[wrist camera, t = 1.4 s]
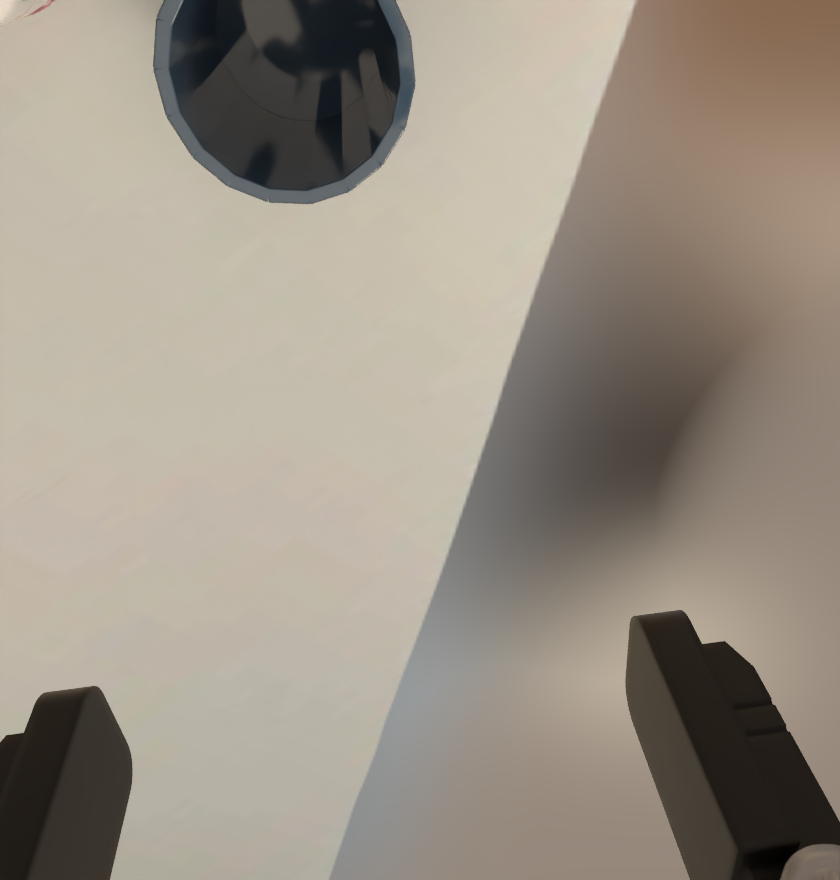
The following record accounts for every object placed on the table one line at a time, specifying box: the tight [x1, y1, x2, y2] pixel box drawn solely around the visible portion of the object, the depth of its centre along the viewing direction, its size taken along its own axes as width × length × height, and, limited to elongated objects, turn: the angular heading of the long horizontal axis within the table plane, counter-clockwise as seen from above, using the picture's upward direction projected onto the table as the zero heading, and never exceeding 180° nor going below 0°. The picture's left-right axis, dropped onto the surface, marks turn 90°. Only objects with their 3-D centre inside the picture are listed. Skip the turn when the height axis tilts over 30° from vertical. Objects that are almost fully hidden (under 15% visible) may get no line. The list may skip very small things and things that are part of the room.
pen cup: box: [153, 0, 415, 204], centre depth 31 cm, size 8×8×12 cm
